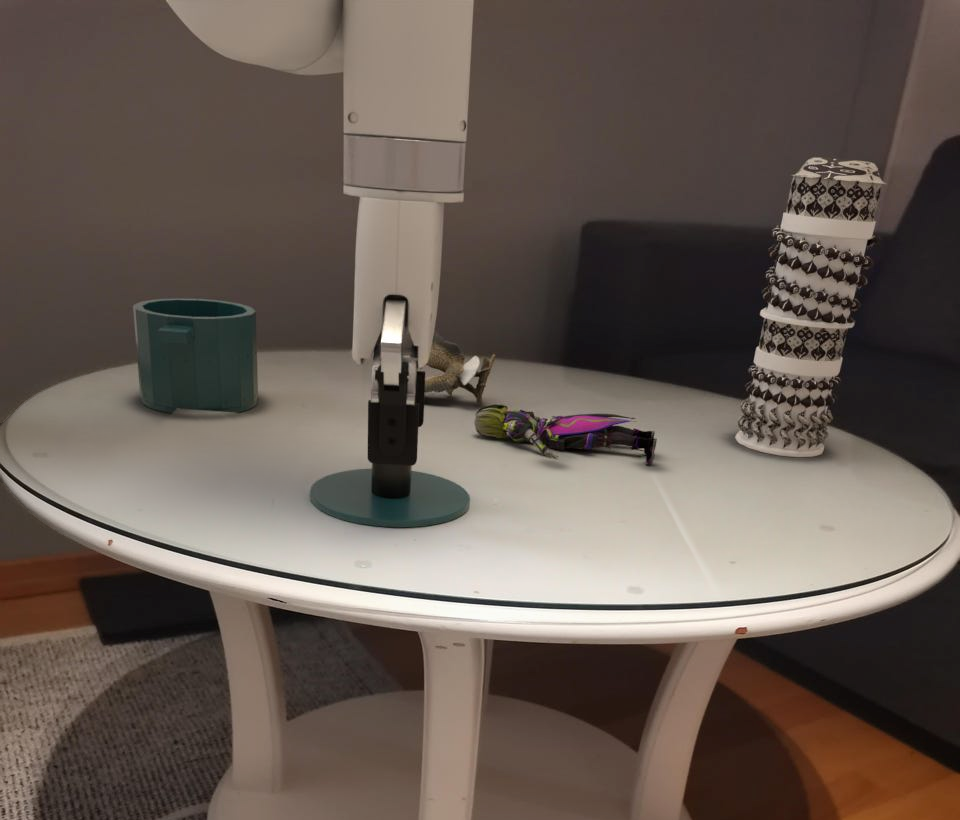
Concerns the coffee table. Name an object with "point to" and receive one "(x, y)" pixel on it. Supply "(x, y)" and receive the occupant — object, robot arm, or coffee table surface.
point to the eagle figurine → (455, 369)
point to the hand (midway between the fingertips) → (397, 442)
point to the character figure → (563, 430)
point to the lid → (389, 497)
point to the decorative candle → (810, 305)
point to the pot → (196, 354)
